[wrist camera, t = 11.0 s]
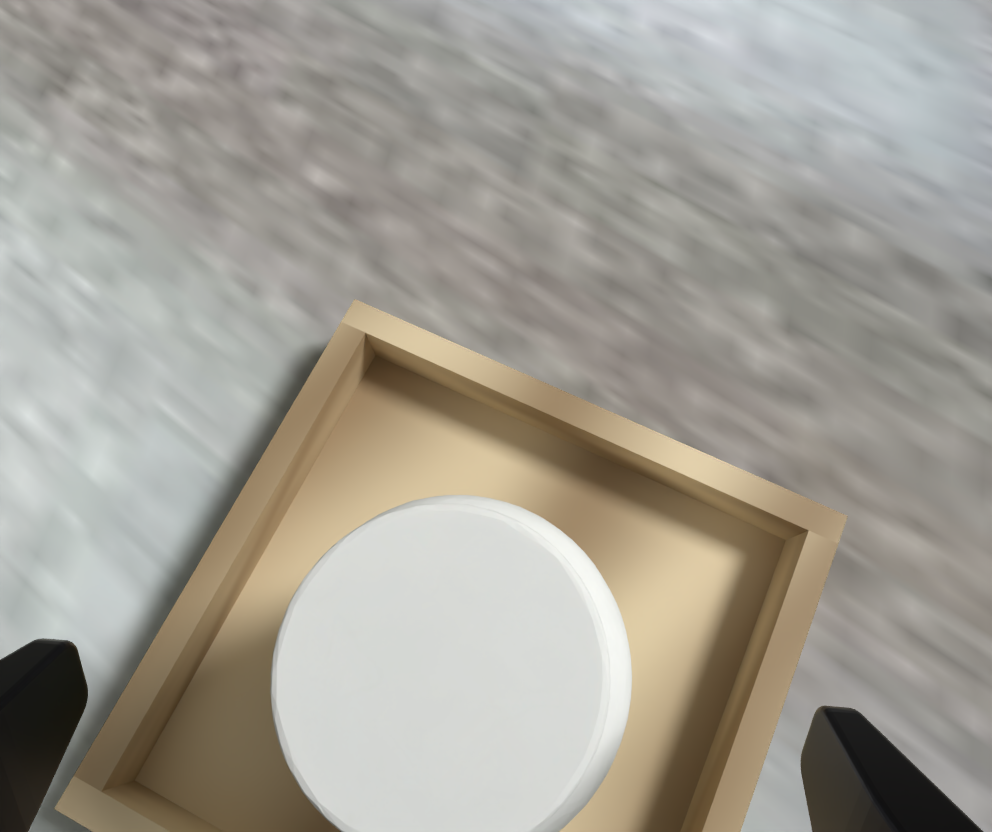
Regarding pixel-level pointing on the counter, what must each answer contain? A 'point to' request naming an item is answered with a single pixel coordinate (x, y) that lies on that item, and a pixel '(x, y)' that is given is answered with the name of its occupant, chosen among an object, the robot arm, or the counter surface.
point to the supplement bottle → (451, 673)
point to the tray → (497, 475)
